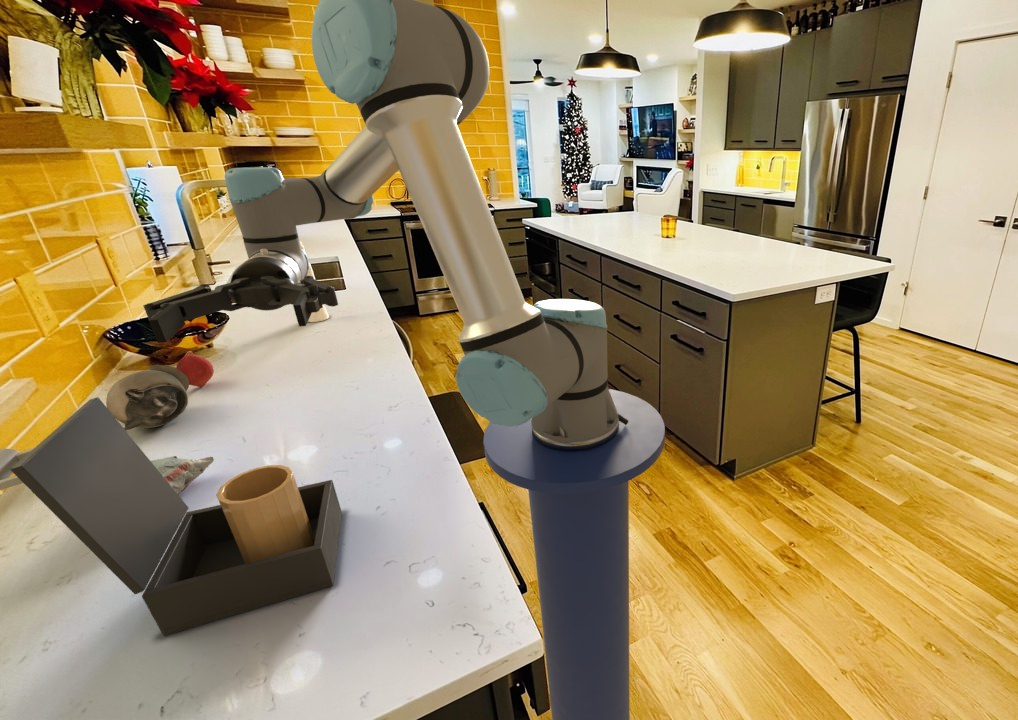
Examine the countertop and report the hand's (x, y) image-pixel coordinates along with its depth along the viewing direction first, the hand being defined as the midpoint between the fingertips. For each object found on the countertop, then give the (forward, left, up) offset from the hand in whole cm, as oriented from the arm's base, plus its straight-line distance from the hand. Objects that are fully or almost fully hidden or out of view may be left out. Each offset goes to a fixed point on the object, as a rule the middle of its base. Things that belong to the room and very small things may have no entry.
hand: (231, 323), depth 58 cm
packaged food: (+18, -11, -28) cm, 35 cm away
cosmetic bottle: (+7, -93, -28) cm, 98 cm away
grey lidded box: (+2, +10, -28) cm, 30 cm away
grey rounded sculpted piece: (+26, -38, -28) cm, 54 cm away
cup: (0, +10, -27) cm, 29 cm away
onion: (+24, -53, -28) cm, 65 cm away
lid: (+11, +10, -14) cm, 20 cm away
